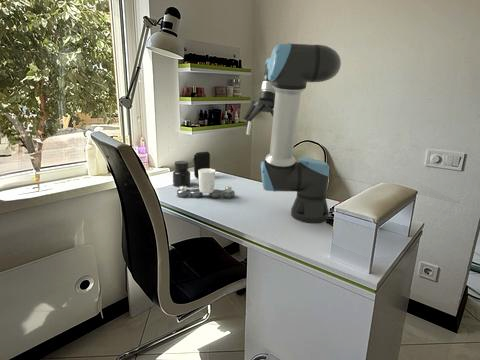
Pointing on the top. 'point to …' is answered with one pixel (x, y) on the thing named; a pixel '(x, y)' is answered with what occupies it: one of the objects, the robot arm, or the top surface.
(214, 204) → the top surface
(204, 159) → the black rounded slab
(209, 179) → the white cup
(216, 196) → the chain end right
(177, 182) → the ink bottle
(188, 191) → the chain end left
